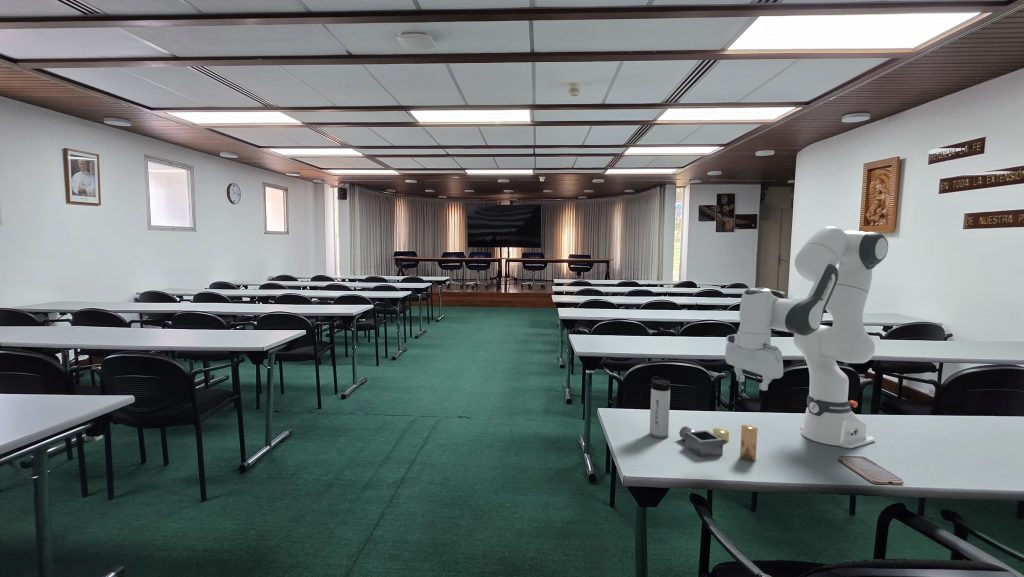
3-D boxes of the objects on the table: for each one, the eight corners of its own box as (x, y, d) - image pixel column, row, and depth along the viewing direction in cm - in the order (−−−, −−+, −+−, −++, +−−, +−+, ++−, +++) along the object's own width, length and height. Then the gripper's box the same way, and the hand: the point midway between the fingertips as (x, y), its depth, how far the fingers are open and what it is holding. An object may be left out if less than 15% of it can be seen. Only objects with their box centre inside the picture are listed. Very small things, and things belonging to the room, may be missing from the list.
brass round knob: (721, 436, 163) (722, 427, 163) (731, 441, 158) (732, 433, 158) (709, 437, 162) (709, 429, 162) (719, 443, 157) (719, 434, 157)
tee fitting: (694, 437, 161) (695, 423, 161) (722, 454, 148) (723, 439, 147) (674, 439, 159) (675, 425, 159) (700, 457, 146) (701, 441, 145)
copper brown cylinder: (748, 454, 148) (750, 424, 147) (759, 461, 144) (760, 429, 143) (736, 456, 147) (738, 425, 146) (747, 462, 143) (748, 430, 142)
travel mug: (660, 430, 167) (662, 375, 166) (672, 437, 161) (674, 380, 160) (645, 432, 166) (647, 377, 164) (656, 439, 159) (658, 382, 158)
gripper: (790, 347, 133) (787, 394, 134) (739, 334, 153) (736, 376, 154) (772, 348, 132) (769, 396, 133) (722, 335, 151) (720, 377, 152)
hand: (751, 385), depth 143 cm, fingers open, 8 cm apart
